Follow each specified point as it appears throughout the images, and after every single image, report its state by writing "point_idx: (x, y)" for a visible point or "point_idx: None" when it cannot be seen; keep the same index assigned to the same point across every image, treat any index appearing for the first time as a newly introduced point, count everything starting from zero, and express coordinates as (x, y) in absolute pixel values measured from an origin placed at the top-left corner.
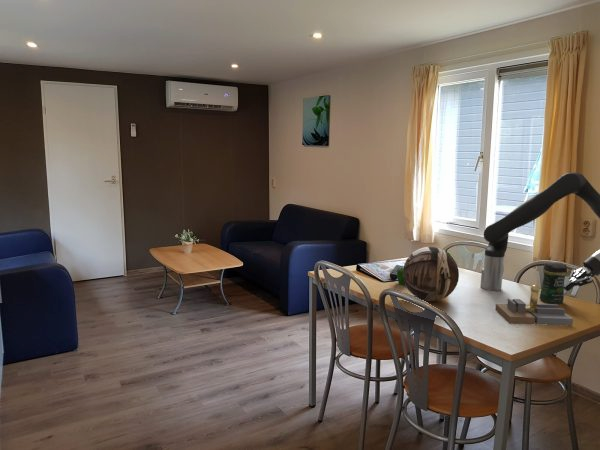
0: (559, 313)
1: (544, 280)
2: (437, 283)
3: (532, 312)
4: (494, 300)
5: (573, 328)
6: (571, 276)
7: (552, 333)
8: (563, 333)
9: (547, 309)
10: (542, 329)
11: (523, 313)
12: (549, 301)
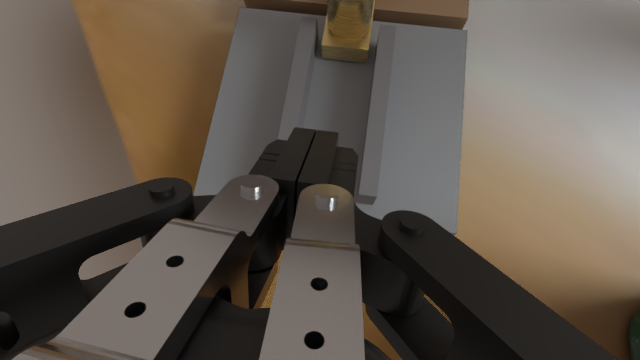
0: None
1: None
2: None
3: (321, 21)
4: (633, 3)
5: None
6: (402, 249)
7: (137, 45)
8: (127, 94)
9: (290, 73)
10: (189, 28)
11: None
12: (636, 323)
